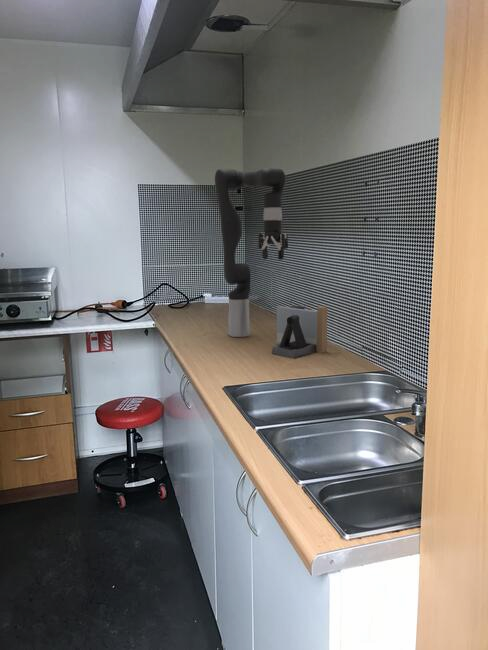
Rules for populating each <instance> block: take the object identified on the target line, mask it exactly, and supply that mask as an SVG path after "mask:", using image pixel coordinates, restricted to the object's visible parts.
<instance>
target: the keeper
mask: <svg viewBox="0 0 488 650" xmlns="http://www.w3.org/2000/svg"><path fill="white" fill-rule="evenodd" d="M290 343H296V341H292V342H290ZM271 347H272V348H271V351H272V352H271V353H272V355H276V356H281V357H285V358H290V359H296V358H299V357H303V356H306V355H311V354H314V353H317V352H316V344H310V343H306V345H305V346H304V347H302V348H291V347H280V344H277V345H272V346H271Z"/></svg>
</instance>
